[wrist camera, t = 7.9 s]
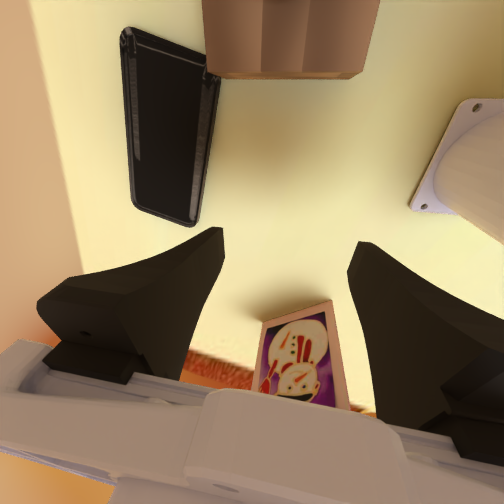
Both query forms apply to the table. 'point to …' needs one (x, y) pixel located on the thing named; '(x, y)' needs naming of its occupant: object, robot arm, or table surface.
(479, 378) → the robot arm
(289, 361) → the greeting card
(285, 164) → the table surface
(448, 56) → the table surface
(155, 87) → the phone
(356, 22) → the box
